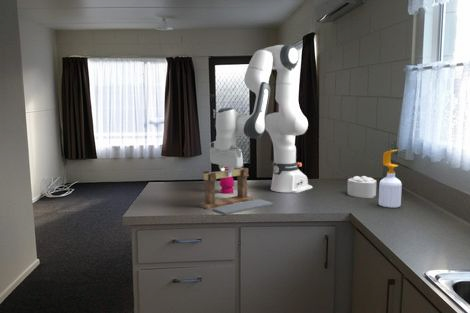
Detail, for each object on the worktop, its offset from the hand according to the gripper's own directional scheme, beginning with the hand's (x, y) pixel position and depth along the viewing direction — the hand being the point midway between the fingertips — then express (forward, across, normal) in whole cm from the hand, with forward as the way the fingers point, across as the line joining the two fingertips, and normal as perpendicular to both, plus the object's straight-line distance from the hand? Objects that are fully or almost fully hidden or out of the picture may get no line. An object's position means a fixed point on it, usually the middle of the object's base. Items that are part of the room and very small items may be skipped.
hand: (226, 175), depth 193 cm
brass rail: (0, 0, 0) cm, 0 cm away
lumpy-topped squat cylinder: (+13, -28, -60) cm, 67 cm away
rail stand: (+12, 0, 0) cm, 12 cm away
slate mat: (+12, -11, -1) cm, 17 cm away
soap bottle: (+13, -48, -53) cm, 73 cm away
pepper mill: (+13, +17, -13) cm, 25 cm away
